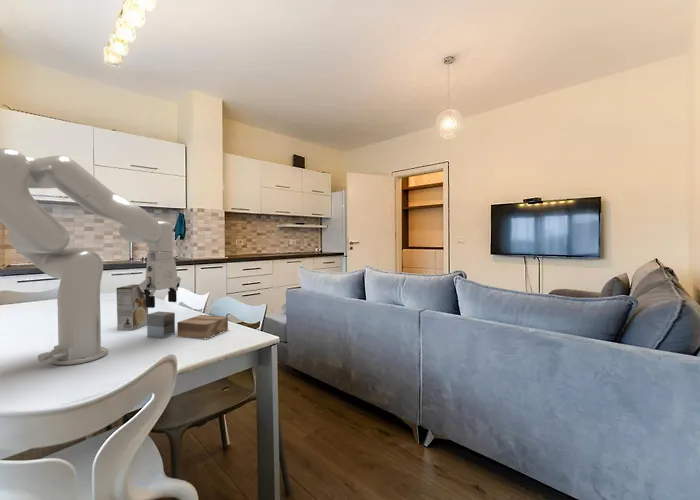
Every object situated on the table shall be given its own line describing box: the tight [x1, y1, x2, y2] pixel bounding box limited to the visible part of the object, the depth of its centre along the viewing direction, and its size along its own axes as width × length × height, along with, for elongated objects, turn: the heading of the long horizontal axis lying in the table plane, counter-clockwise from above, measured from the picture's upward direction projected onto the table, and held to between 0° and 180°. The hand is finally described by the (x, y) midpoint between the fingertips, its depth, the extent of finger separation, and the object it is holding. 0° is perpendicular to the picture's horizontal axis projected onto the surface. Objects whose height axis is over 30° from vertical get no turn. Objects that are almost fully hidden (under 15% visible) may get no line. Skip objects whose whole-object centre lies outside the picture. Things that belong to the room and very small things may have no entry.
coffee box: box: [116, 284, 149, 331], centre depth 129 cm, size 9×6×16 cm
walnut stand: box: [176, 314, 229, 340], centre depth 122 cm, size 12×12×5 cm
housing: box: [146, 311, 176, 340], centre depth 118 cm, size 5×7×8 cm
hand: (161, 304), depth 118 cm, fingers open, 9 cm apart
